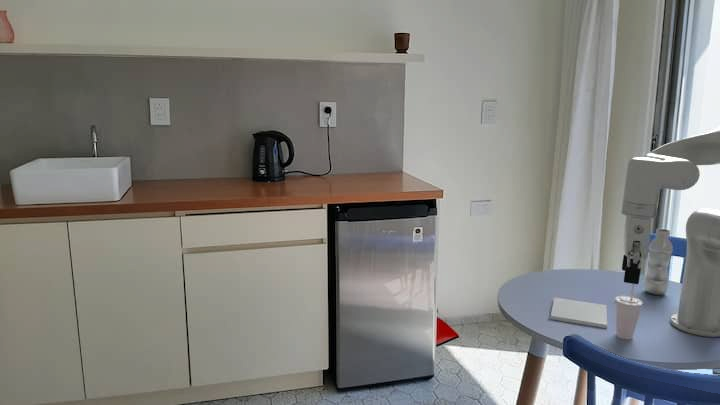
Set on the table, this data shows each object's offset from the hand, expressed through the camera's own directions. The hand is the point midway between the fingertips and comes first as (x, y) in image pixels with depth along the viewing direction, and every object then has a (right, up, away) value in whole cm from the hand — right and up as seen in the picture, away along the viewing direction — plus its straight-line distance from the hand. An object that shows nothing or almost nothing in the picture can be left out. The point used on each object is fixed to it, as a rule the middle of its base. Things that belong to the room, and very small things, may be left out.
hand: (629, 276), depth 131 cm
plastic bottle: (+24, -10, +32) cm, 41 cm away
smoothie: (0, -16, +4) cm, 16 cm away
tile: (-6, -13, +17) cm, 22 cm away
